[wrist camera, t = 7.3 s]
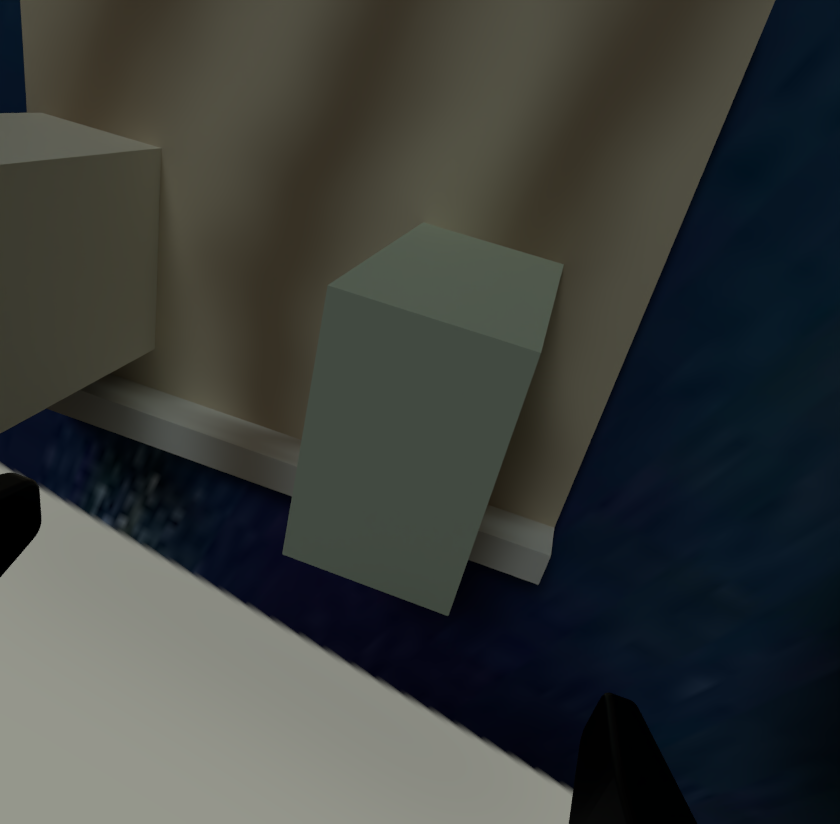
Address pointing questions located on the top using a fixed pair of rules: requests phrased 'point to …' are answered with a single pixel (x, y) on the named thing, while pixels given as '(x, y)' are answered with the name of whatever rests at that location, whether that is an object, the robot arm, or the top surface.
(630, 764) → the robot arm
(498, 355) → the sage carton
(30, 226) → the cream carton
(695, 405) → the top surface
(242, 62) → the beige shallow tray
